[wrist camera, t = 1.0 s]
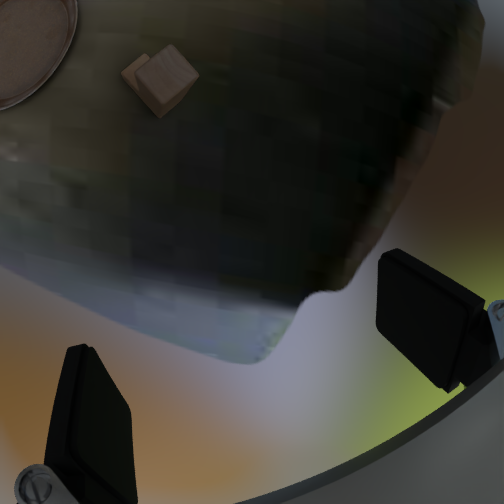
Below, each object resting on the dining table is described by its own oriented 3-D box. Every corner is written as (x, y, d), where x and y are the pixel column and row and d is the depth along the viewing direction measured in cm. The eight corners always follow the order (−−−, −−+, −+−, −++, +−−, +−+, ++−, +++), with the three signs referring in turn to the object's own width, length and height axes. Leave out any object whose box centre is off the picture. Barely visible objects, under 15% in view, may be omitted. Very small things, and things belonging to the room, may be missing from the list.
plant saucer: (-41, 26, 18) (-52, 21, 15) (74, -37, 21) (69, -48, 18) (-27, 137, 25) (-39, 138, 22) (94, 73, 28) (90, 68, 26)
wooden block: (181, 100, 32) (201, 75, 19) (159, 119, 32) (162, 105, 19) (145, 60, 29) (142, 12, 16) (122, 79, 29) (104, 41, 16)
